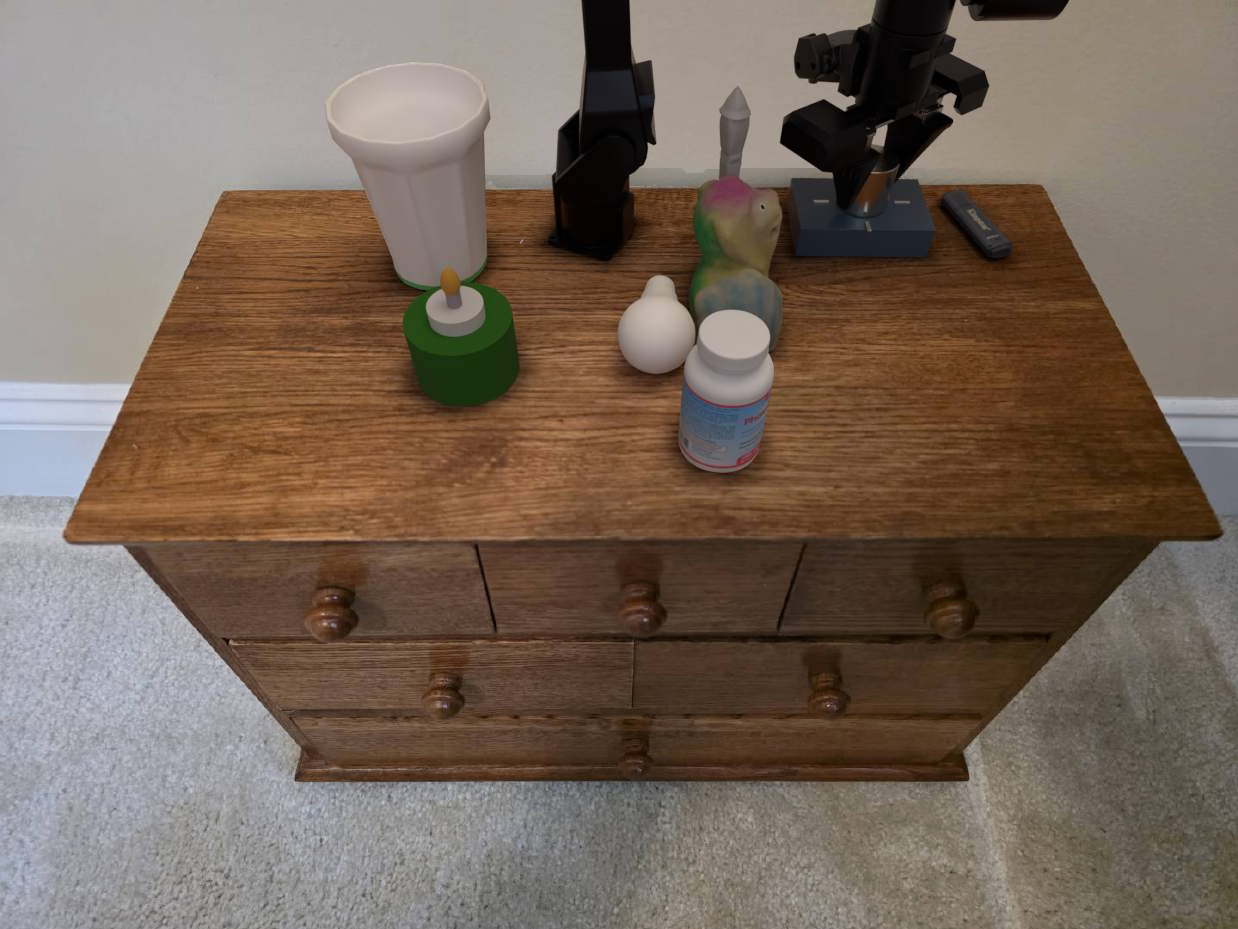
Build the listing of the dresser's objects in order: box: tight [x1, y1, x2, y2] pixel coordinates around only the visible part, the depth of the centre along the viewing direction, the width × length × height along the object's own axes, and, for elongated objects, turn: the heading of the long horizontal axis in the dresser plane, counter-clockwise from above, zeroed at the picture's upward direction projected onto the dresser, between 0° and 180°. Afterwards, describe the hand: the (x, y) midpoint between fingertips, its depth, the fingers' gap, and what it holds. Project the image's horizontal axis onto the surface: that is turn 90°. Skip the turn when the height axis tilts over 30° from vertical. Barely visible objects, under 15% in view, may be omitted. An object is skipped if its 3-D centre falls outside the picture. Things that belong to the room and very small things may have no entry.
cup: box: [324, 61, 491, 291], centre depth 68 cm, size 12×12×15 cm
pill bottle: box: [677, 310, 775, 474], centre depth 56 cm, size 6×6×11 cm
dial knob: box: [836, 143, 900, 217], centre depth 72 cm, size 5×5×5 cm
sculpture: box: [687, 174, 784, 353], centre depth 66 cm, size 15×8×10 cm, turn 3°
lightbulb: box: [617, 274, 695, 375], centre depth 65 cm, size 6×6×11 cm
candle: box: [402, 268, 521, 407], centre depth 62 cm, size 8×8×10 cm
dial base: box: [785, 177, 937, 259], centre depth 75 cm, size 12×9×3 cm
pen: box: [718, 85, 752, 180], centre depth 71 cm, size 2×3×14 cm
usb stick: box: [940, 189, 1013, 259], centre depth 76 cm, size 10×3×2 cm, turn 15°
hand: (863, 198), depth 74 cm, fingers closed on dial knob, 5 cm apart
